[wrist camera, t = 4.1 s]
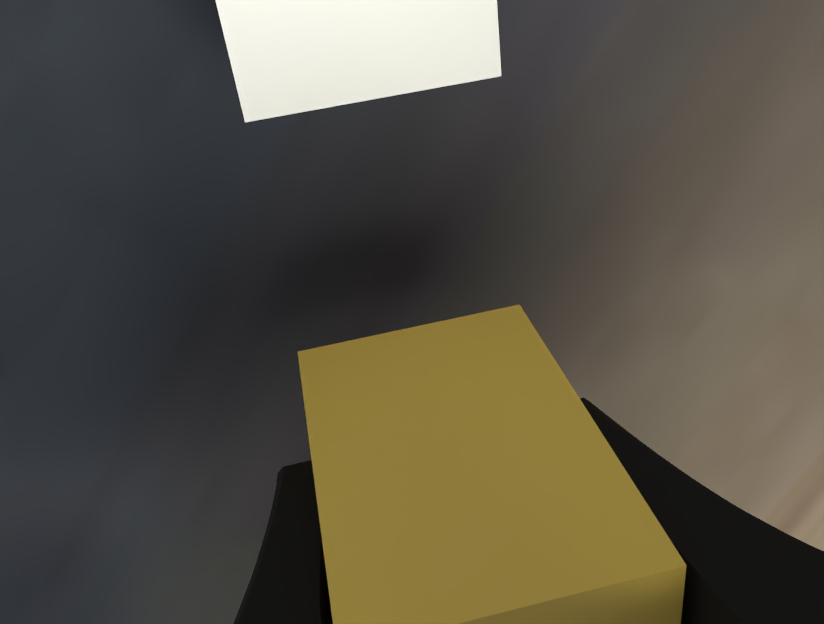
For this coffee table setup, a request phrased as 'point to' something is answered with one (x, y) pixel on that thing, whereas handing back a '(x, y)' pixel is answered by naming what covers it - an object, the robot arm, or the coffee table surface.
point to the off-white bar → (353, 50)
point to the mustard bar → (475, 485)
